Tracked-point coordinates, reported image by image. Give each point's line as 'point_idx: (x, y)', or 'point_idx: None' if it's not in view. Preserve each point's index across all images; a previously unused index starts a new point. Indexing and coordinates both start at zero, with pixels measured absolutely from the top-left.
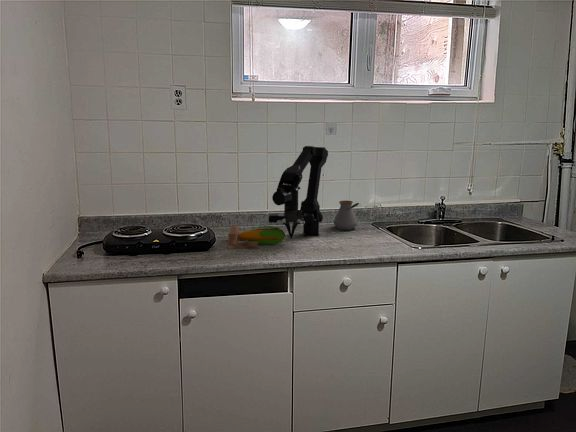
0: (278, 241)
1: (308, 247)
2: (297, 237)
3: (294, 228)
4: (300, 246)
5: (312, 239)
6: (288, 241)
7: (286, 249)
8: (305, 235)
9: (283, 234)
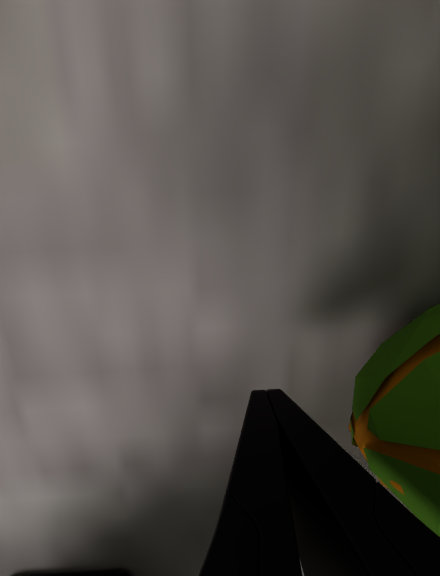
0: (435, 311)
1: (11, 196)
2: (191, 532)
3: (230, 569)
4: (131, 242)
5: (41, 496)
6: None
7: (330, 62)
8: (123, 573)
9: (424, 410)
